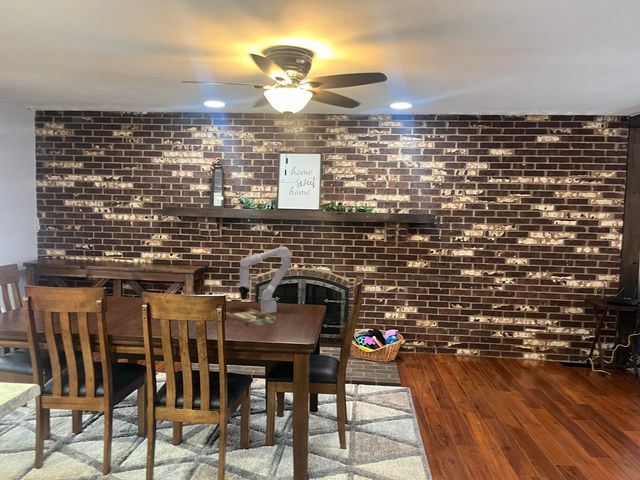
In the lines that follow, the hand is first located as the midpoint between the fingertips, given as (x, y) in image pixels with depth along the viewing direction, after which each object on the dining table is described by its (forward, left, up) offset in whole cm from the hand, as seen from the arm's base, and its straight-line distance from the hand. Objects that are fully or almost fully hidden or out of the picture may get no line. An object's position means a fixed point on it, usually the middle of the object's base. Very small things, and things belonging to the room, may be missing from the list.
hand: (243, 299), depth 275 cm
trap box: (+5, +15, -9) cm, 18 cm away
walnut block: (+5, +26, -8) cm, 27 cm away
